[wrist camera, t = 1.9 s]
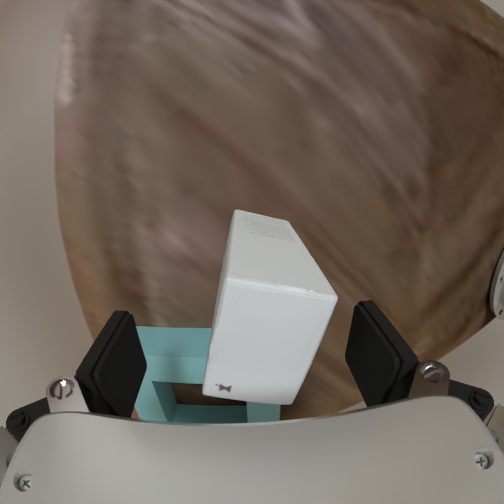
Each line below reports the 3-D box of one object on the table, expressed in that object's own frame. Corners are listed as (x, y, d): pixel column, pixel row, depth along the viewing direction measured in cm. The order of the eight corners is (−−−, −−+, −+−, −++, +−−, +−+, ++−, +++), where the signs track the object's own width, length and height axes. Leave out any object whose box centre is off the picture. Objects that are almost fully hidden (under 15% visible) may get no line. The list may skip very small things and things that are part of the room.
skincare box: (271, 290, 22) (292, 409, 11) (219, 280, 22) (198, 397, 11) (291, 218, 20) (343, 297, 9) (234, 206, 20) (219, 275, 9)
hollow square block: (278, 326, 24) (284, 356, 20) (274, 419, 28) (277, 445, 25) (126, 325, 23) (110, 351, 20) (158, 416, 28) (152, 440, 24)
